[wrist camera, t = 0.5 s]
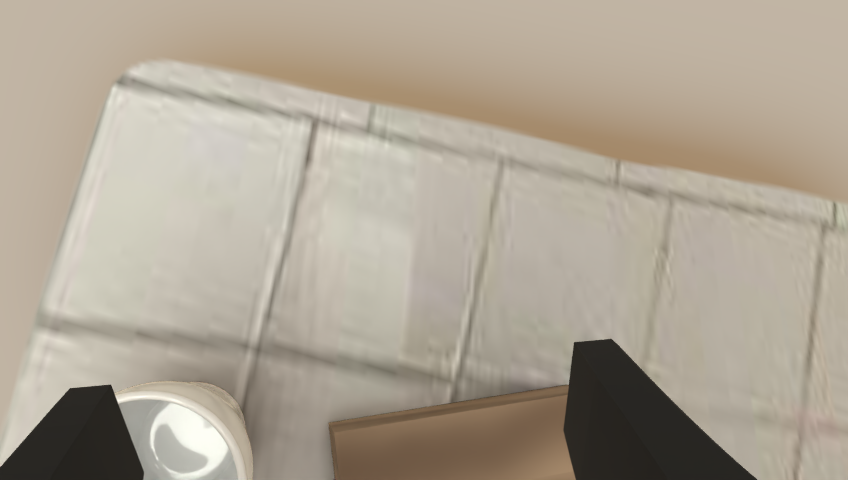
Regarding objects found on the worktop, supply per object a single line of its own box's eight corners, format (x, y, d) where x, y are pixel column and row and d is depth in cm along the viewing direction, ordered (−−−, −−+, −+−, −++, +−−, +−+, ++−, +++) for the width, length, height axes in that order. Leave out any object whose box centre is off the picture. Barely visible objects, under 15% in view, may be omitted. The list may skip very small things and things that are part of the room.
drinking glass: (270, 376, 38) (267, 402, 23) (247, 506, 37) (228, 618, 22) (140, 358, 37) (51, 374, 22) (112, 492, 36) (-1, 601, 21)
